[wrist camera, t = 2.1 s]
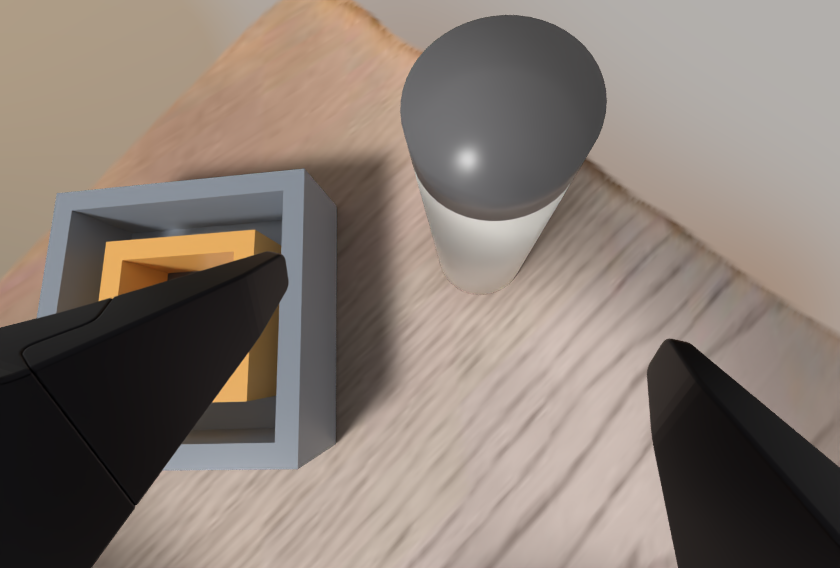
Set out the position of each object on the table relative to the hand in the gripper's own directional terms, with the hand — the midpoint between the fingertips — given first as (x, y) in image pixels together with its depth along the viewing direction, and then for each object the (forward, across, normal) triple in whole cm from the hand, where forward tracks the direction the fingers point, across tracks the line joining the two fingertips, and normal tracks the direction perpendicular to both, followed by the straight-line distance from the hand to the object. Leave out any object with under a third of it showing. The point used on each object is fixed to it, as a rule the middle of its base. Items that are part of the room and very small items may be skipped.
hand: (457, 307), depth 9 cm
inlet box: (+6, +13, +10) cm, 17 cm away
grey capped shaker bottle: (+11, 0, +5) cm, 12 cm away
